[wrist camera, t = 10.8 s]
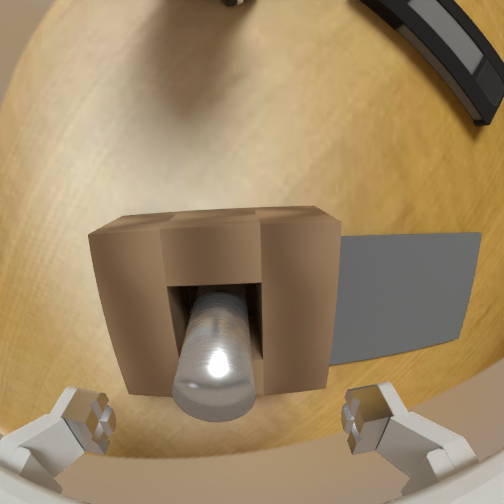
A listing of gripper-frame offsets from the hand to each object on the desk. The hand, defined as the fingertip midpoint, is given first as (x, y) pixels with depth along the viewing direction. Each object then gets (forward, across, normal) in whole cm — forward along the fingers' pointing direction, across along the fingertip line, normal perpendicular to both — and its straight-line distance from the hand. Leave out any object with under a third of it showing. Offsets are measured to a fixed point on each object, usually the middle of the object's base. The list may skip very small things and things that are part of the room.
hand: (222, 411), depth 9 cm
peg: (+11, +1, 0) cm, 11 cm away
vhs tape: (+12, -17, -19) cm, 28 cm away
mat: (+11, -13, +2) cm, 18 cm away
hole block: (+11, +1, 0) cm, 11 cm away
